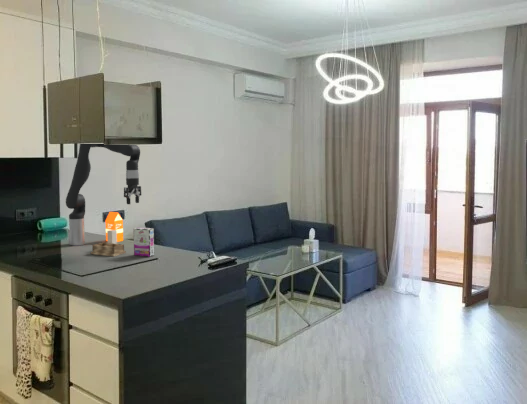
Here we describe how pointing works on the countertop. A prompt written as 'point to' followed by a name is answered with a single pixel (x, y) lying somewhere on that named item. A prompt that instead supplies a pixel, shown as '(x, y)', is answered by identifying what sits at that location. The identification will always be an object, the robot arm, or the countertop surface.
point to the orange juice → (115, 225)
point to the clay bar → (112, 236)
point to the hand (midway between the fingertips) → (132, 203)
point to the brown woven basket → (108, 249)
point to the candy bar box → (144, 242)
